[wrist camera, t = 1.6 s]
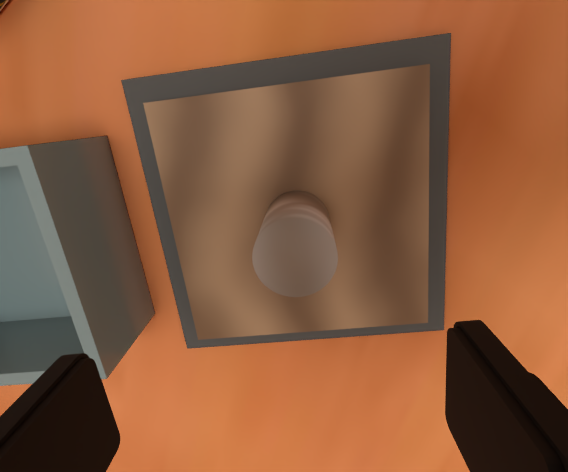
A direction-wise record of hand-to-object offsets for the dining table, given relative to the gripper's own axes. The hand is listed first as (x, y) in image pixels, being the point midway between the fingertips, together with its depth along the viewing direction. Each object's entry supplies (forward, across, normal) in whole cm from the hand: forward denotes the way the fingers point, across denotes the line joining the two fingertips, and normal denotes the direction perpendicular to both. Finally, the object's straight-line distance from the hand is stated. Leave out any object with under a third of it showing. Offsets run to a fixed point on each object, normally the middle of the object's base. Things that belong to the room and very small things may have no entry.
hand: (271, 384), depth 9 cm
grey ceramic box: (+16, +17, 0) cm, 23 cm away
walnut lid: (+15, -1, 0) cm, 15 cm away
